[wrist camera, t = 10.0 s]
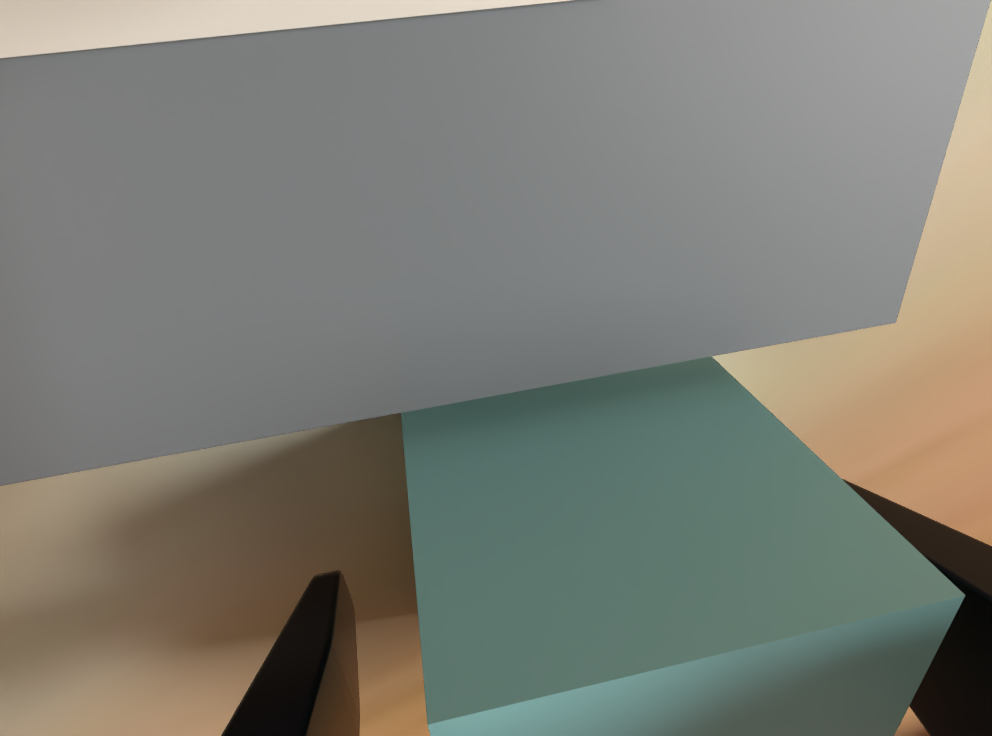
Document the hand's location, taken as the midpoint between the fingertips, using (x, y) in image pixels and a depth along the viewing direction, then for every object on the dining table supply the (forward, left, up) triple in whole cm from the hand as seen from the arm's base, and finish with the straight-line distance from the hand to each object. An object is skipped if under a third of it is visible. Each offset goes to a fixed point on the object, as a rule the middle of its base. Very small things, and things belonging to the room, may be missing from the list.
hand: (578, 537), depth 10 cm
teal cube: (0, 0, -1) cm, 1 cm away
